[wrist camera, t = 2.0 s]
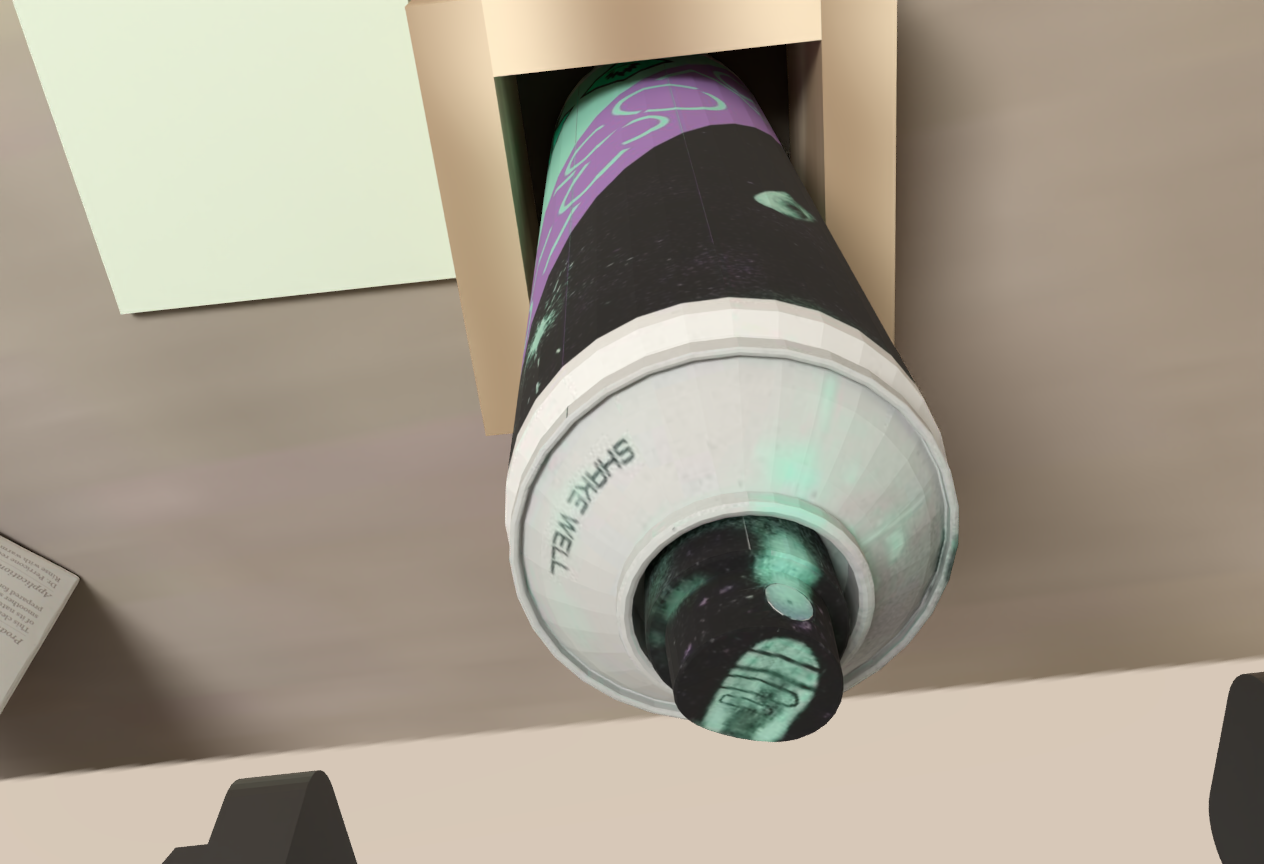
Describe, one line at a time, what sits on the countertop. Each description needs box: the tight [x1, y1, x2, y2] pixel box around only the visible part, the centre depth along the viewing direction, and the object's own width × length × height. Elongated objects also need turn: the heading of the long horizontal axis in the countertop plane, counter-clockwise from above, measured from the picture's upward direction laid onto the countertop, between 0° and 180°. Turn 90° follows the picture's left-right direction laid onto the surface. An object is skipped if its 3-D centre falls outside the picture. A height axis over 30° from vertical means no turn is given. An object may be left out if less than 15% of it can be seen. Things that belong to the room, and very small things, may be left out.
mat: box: [13, 0, 456, 314], centre depth 28 cm, size 9×9×1 cm
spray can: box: [505, 53, 959, 742], centre depth 20 cm, size 6×6×20 cm
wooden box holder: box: [405, 0, 897, 436], centre depth 27 cm, size 10×10×5 cm
